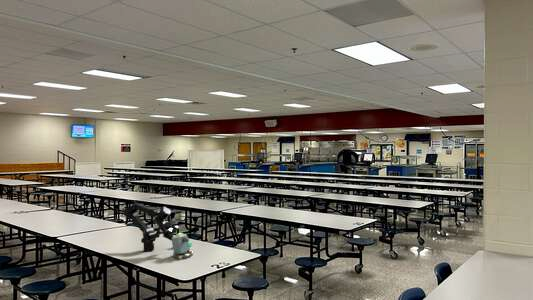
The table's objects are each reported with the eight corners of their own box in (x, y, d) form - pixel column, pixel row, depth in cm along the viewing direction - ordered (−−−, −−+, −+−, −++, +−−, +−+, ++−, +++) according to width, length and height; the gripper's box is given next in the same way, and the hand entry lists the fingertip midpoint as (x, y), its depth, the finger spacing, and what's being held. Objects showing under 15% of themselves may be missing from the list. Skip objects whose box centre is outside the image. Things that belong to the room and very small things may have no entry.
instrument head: (172, 254, 243) (169, 235, 244) (183, 251, 252) (180, 232, 253) (184, 253, 238) (180, 233, 240) (194, 249, 247) (191, 230, 249)
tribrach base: (167, 257, 243) (167, 251, 243) (180, 252, 255) (180, 247, 255) (182, 260, 237) (182, 254, 237) (195, 255, 249) (195, 249, 249)
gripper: (157, 217, 244) (170, 236, 238) (177, 213, 260) (189, 230, 255) (149, 228, 248) (161, 246, 242) (168, 223, 264) (180, 240, 259)
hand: (173, 240), depth 249 cm, fingers closed
